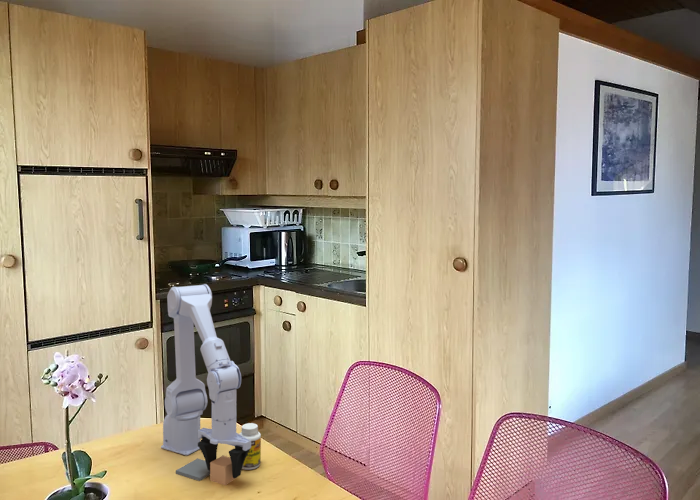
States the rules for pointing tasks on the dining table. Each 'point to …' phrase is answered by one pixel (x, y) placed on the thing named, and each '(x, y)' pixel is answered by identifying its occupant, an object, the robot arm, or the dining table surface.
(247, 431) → the supplement bottle
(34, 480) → the dining table surface
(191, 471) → the mat
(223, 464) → the block
